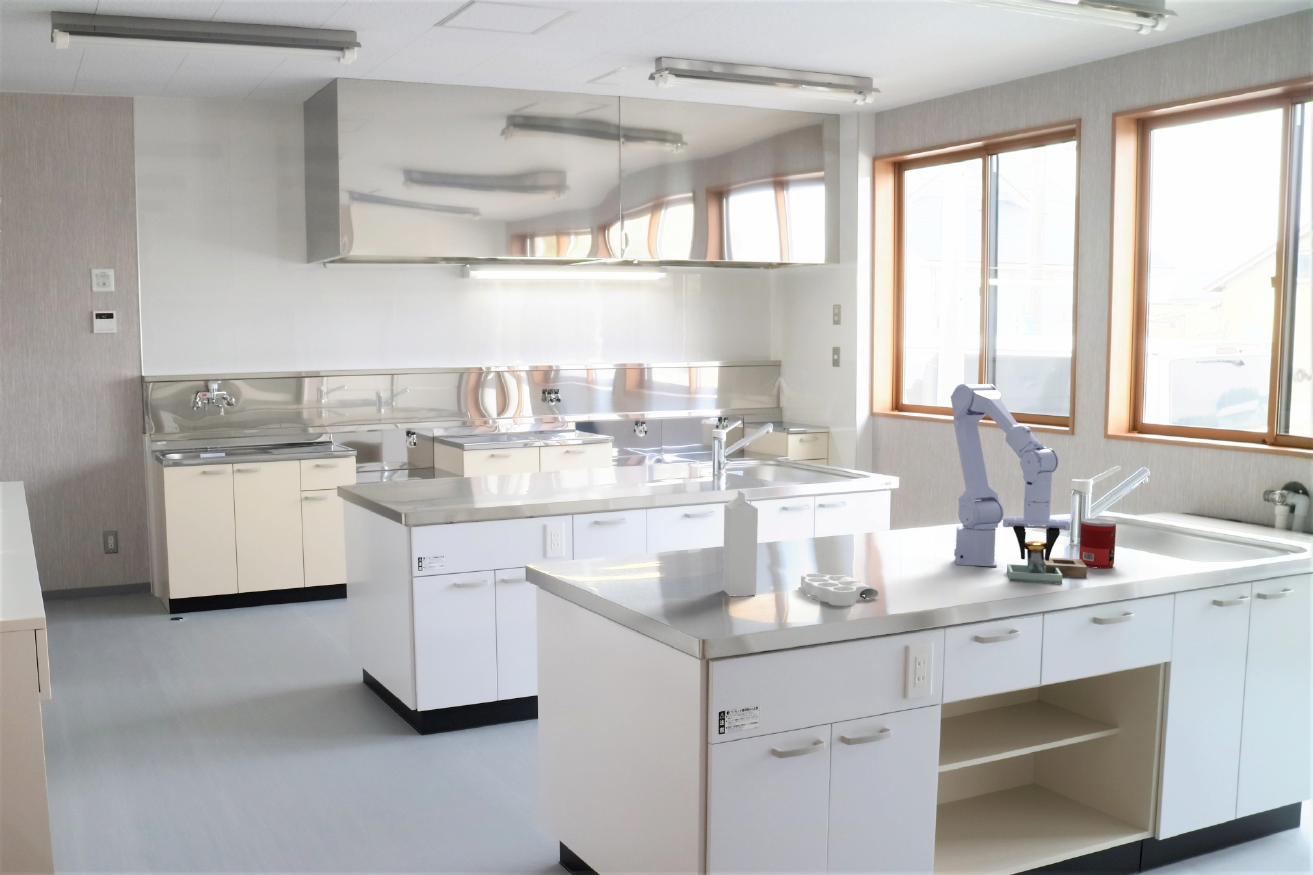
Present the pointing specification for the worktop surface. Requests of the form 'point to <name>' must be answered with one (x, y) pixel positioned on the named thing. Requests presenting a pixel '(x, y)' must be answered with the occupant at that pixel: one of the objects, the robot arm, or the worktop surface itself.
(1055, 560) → the socket block
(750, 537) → the milk
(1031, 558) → the pin
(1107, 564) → the canned food
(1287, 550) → the worktop surface
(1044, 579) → the tray
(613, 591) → the worktop surface
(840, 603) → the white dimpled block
